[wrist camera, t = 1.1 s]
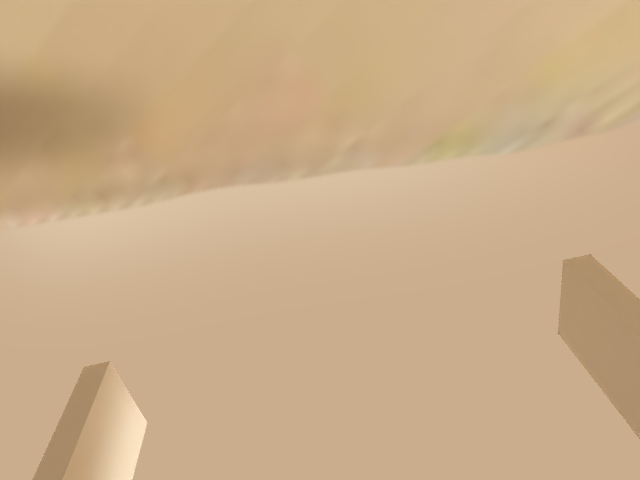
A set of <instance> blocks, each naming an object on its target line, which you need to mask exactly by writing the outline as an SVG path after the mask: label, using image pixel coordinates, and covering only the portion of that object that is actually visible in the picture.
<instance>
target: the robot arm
mask: <svg viewBox="0 0 640 480" xmlns="http://www.w3.org/2000/svg"><path fill="white" fill-rule="evenodd" d="M558 334H559V335H560V336H561V337H562V339H563V340H564V341H565V343H566V344H567V345H568V347H570V349H571V350H572V352H573V353H574V354H575V356H576V357H577V358H578V359H579V361H580V362H581V363H582V365H583V366H584V367H585V369H586V370H587V371H588V372H589V374H590V375H591V376H592V378H593V379H594V380H595V381H596V383H597V384H598V385H599V387H600V388H601V389H602V391H603V392H604V393H605V394H606V396H607V397H608V398H609V400H610V401H611V402H612V404H613V405H614V406H615V407H616V409H617V410H618V411H619V413H620V414H621V415H622V416H623V418H624V419H625V420H626V422H627V423H628V424H629V426H630V427H631V428H632V429H633V431H634V432H635V433H636V435H637V436H638V437H639V438H640V300H639V298H637V297H636V296H635V295H634V294H633V293H632V292H631V291H630V290H629V289H627V287H625V286H624V285H623V284H622V283H621V282H620V281H619V280H618V279H617V278H616V277H615V276H613V275H612V274H611V273H610V272H609V271H608V270H607V269H606V268H605V267H604V266H603V265H601V264H600V263H599V262H598V261H597V260H596V259H595V258H594V257H593V256H592V255H590V254H589V255H585V256H581V257H577V258H572V259H567V260H563V270H562V285H561V299H560V313H559V328H558ZM146 426H147V422H146V420H145V418H144V417H143V415H142V413H141V412H140V410H139V409H138V407H137V405H136V404H135V402H134V400H133V399H132V397H131V395H130V394H129V392H128V391H127V389H126V387H125V386H124V384H123V382H122V381H121V379H120V378H119V376H118V374H117V372H116V371H115V369H114V368H113V366H112V364H111V363H110V362H105V363H100V364H96V365H91V366H87V367H84V368H83V371H82V373H81V375H80V377H79V379H78V382H77V384H76V386H75V388H74V390H73V393H72V395H71V397H70V399H69V401H68V403H67V406H66V408H65V410H64V412H63V414H62V417H61V419H60V421H59V423H58V425H57V427H56V430H55V432H54V434H53V436H52V439H51V441H50V443H49V445H48V447H47V450H46V451H45V454H44V456H43V458H42V460H41V462H40V465H39V467H38V469H37V471H36V473H35V476H34V478H33V480H132V478H133V475H134V471H135V467H136V463H137V460H138V456H139V452H140V448H141V444H142V441H143V437H144V433H145V429H146Z"/></svg>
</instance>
